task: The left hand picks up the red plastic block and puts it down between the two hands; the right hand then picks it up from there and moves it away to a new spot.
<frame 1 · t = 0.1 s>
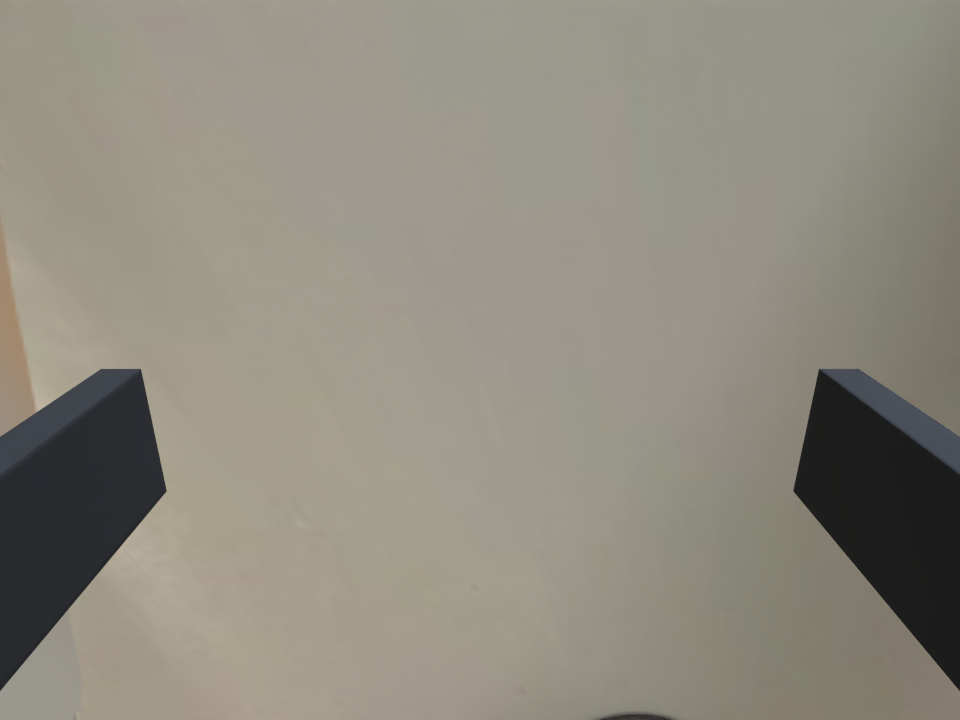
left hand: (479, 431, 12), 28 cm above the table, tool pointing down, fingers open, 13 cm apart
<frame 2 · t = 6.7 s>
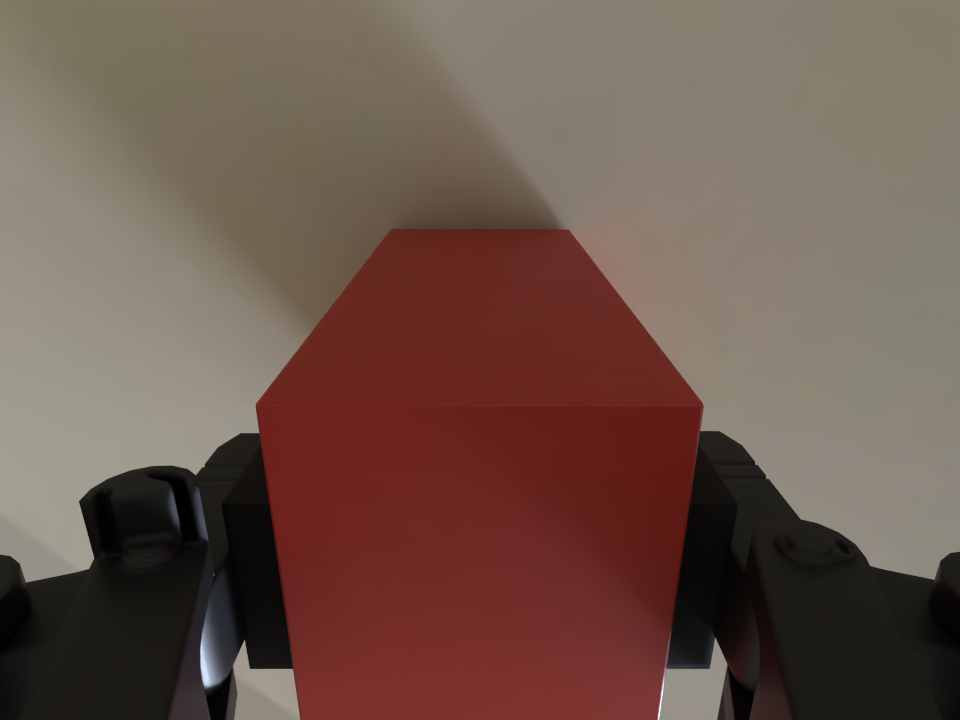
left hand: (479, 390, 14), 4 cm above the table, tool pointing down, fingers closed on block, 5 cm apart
block: (479, 330, 18), on the table, touching left hand
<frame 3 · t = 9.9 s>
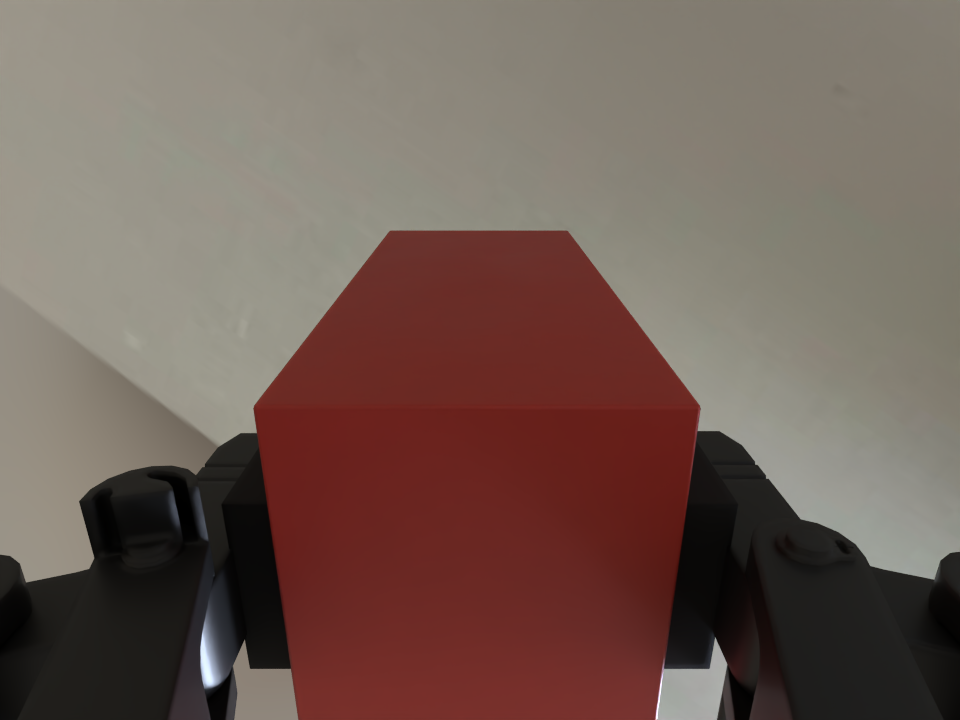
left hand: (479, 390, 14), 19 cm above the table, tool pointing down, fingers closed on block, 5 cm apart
block: (478, 330, 18), point 14 cm above the table, touching left hand
when the left hand's fingers open (6 cm above the table, at t = 13.6 s): block drops 1 cm, on the table.
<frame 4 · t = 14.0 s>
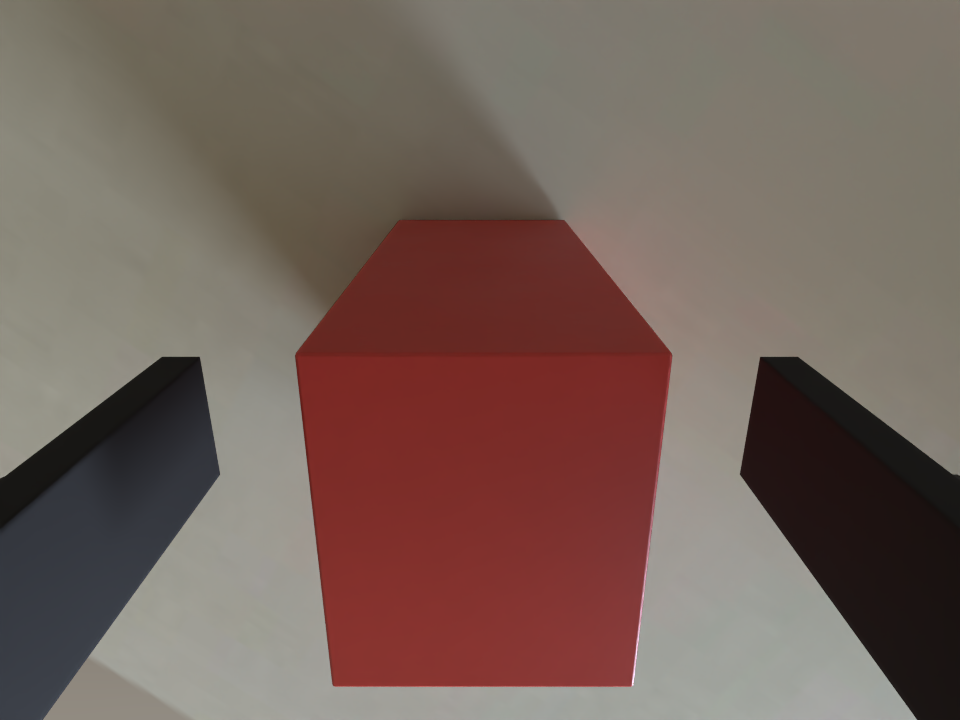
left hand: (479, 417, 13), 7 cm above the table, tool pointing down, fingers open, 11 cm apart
block: (481, 314, 20), on the table
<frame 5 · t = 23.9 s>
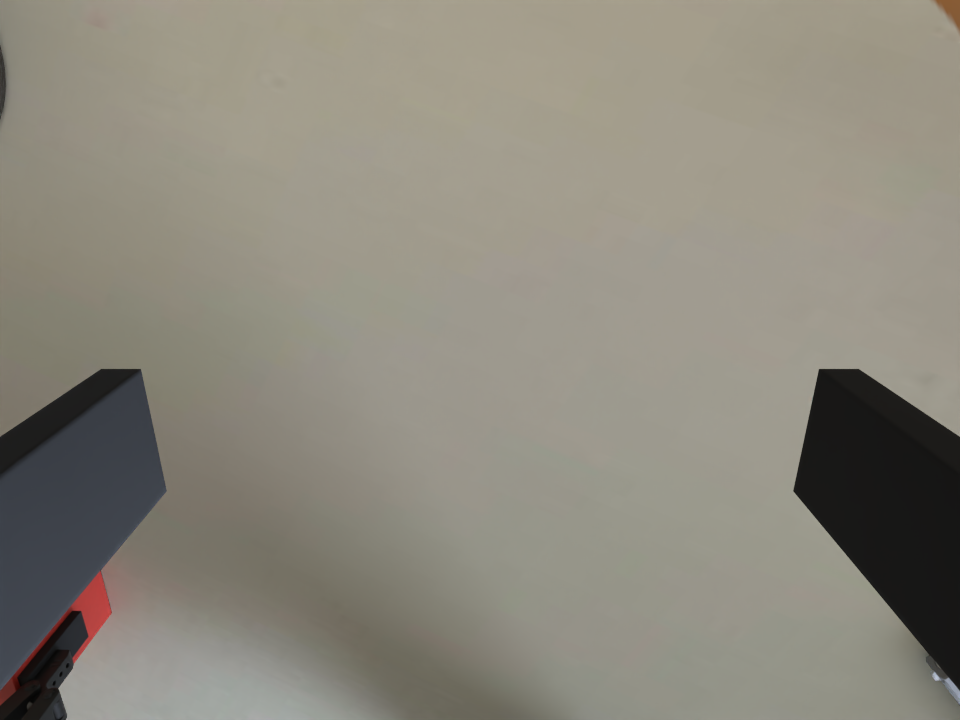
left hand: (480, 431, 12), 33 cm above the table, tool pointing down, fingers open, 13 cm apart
block: (77, 586, 56), on the table, touching right hand
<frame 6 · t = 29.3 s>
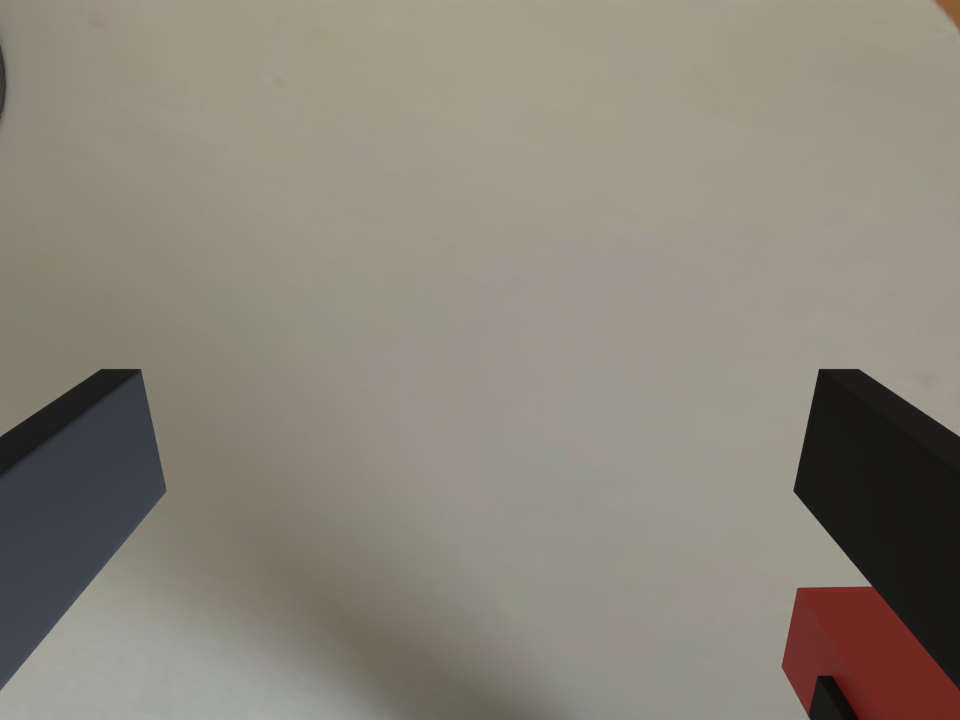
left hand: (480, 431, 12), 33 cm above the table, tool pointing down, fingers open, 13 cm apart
block: (832, 627, 36), point 17 cm above the table, touching right hand
when the right hand's fingers open (6 cm above the table, at t = 35.0 s): block drops 1 cm, on the table.
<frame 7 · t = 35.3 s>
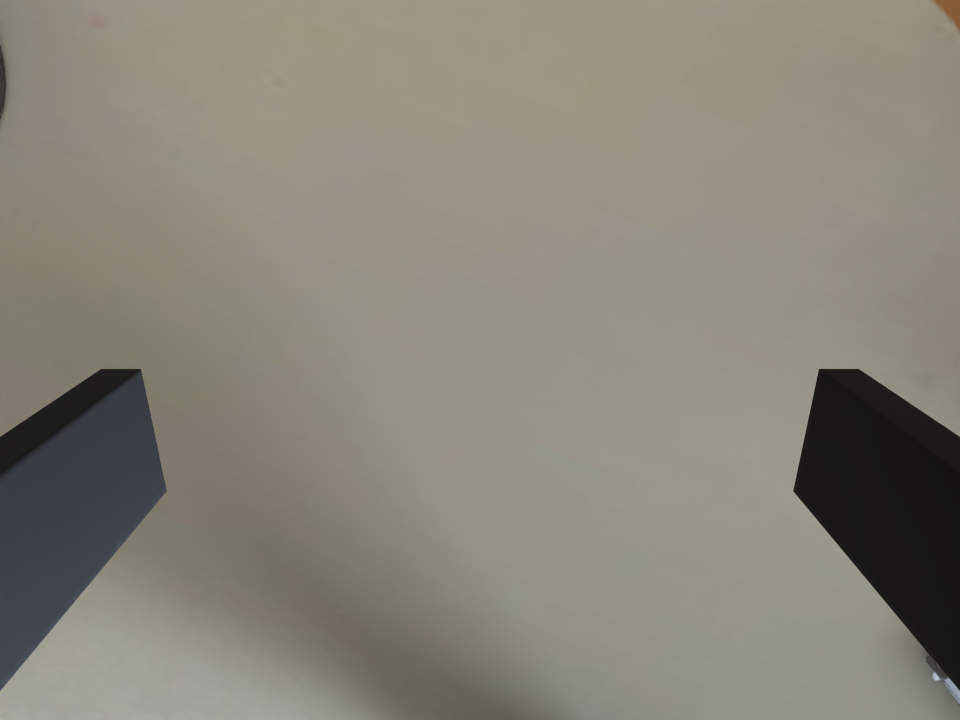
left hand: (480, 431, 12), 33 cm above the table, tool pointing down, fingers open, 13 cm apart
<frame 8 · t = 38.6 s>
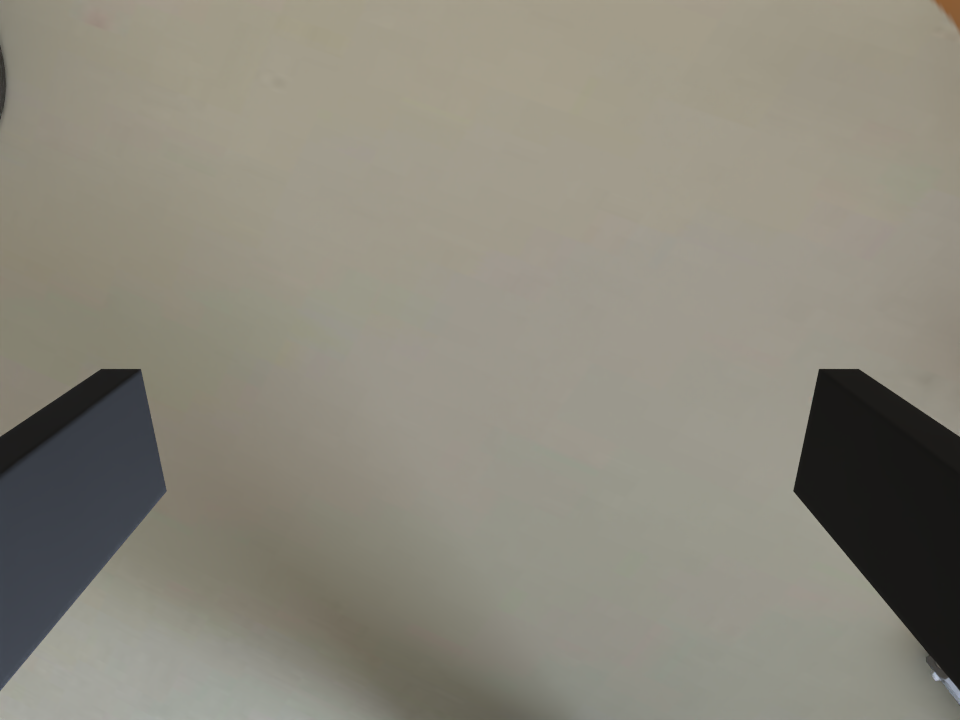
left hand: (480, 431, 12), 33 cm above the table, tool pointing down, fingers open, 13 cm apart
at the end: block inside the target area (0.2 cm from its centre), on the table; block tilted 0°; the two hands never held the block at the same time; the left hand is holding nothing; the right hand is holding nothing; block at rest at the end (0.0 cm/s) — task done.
